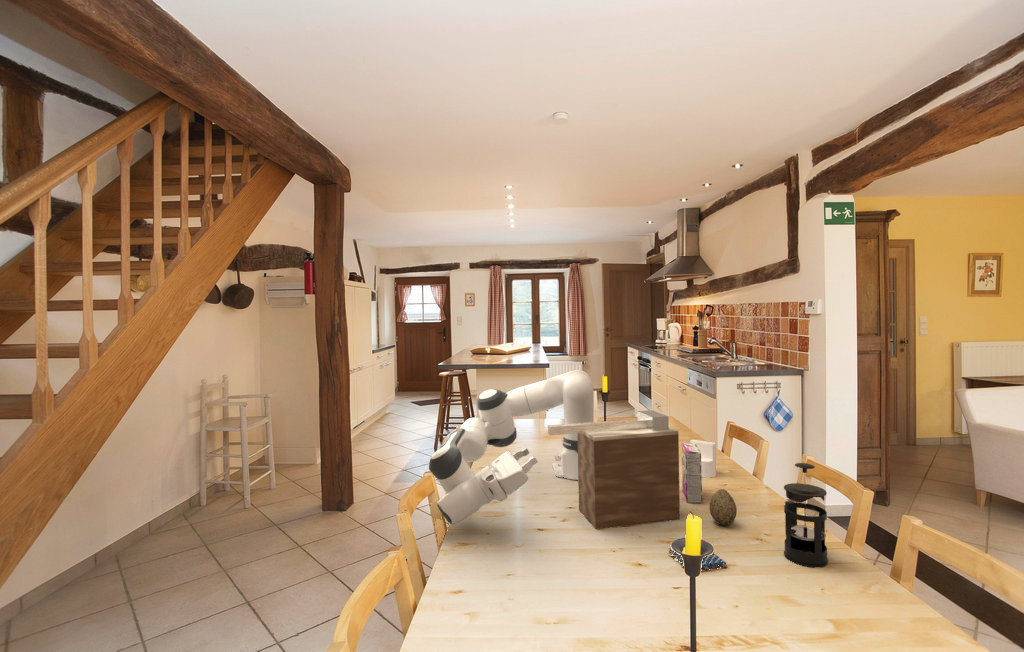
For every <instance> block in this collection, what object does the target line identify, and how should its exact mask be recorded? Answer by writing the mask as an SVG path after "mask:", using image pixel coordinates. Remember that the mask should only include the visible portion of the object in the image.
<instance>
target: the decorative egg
mask: <svg viewBox="0 0 1024 652" xmlns="http://www.w3.org/2000/svg"><path fill="white" fill-rule="evenodd" d="M737 512H738V511H737V505H736V502H735V500H734V498H733V496H732V494H730V493H729V491H727V490H726V489H724V488H722V489H721V488H719V489H718V490H717V491H716V492H715V493H714V494H713V495H712V497H711V499H710V502H709V513H710V515H711V518H712V519H713V520H714V522H716V523H717V524H719V525H723V526H728V525H730V524H732V523H733V522H734V521H735V519H736V517H737Z"/></svg>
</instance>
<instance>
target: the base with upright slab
mask: <svg viewBox="0 0 1024 652" xmlns="http://www.w3.org/2000/svg"><path fill="white" fill-rule="evenodd" d="M689 443H693V444H696V445H697V447H698V449H699V450H700V452H701V475H702V477H703V478H702V479H708V478H707V477H712V478H715V477H717V445H716V442H710V441H705V440H699V439H690V441H689ZM714 476H715V477H714Z"/></svg>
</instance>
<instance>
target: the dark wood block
mask: <svg viewBox="0 0 1024 652" xmlns="http://www.w3.org/2000/svg"><path fill="white" fill-rule="evenodd" d="M679 437H680V436H679V430H678V429H675V428H672V427H670V426H669V430H660V431H652V430H650V429H647V428H643V429H630V430H617V431H603V432H590V433H577V438H578V480H577V481H578V482H577V483H578V511H579V513H581V515H582V514H583V515H584V516H583V515H582V516H583V517H584V518H585V519H586V521H587V522H589V524H590V525H591V524H592V525H591V526H592V527H593V528H594V529H595V530H601V529H602V530H603V529H611V528H610V527H612V528H619V527H618V526H620V527H627V526H629V527H630V526H635V525H636V526H638V525H644V524H652V523H661V522H671V521H677V520H678V521H679V520H680V519H681V511H680V507H681V506H680V504H681V503H680V500H681V499H680V449H679V448H680V445H679V443H680V442H679ZM670 520H671V521H670Z"/></svg>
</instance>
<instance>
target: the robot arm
mask: <svg viewBox="0 0 1024 652" xmlns="http://www.w3.org/2000/svg"><path fill="white" fill-rule="evenodd" d="M594 389H595V388H594V384H593V381H592V378H591V377H590V375H589V374H588V373H587V372H586V371H584V370H582V369H574V370H570V371H567V372H564V373H562V374H558V375H555V376H553V377H549V378H547V379H544V380H540V381H537V382H534V383H529V384H526V385H523V386H519V387H516V388H514V389H511V390H509V391H507V392H504V391H502V390H501V389H497V388H491V389H486V390H484V391H482V392H481V393H480V394H479V395H478V396H477V397H476V401H475V403H476V408H477V410H478V415H479V417H469V418H468V419H466V420H465V421H464V422H463V423H462V425H461V426H460V428H458V429H455V430H453V431H452V432H451V433H449V434H448V436H447V437H446V438H445V440H444V441H443V442H442V443H441V445H440V447H439V448H438V449H437V450H436V451H434V453H433V454H432V455H431V456H430V459H429V462H428V470H429V471H430V473H431V475H433V476H434V477H435V479H436V480H437V481H438V483H439V484H440V486H441V487H442V489H443V490H444V492H445V495H443V496H442V497H441V498H440V499H439V500H438V501H437V503H436V505H437V508H438V510H439V512H440V513H441V515H442V517H444V519H445V521H447V522H448V523H449V524H450V525H456V524H459V523H461V522H463V521H464V520H466V519H467V518H469V517H471V516H472V515H474V514H475V513H477V512H478V511H479V510H480V509H481V508H482V507H483V506H485V505H486V504H490V503H491V502H493V501H499V502H504V501H505V500H506V499H507V498H508V495H511V494H512V493H514V492H515V491H517V490H518V489H519V488H521V487H522V486H524V484H526V483H527V481H528V480H529V476H528V474H527V473H528V472H530V470H531V469H532V468H533V466H535V465H537V463H538V459H537V457H535V456H534V455H533V456H531V457H529V458H528V460H527V461H526V462H525V463H522V464H520V463H519V460H520V459H521V458H524V457H527V456H528V455H529V454H530V451H529V449H528V447H524V448H522V449H520V450H517V451H515V452H513V453H512V452H511V451H509V450H507V451H504V452H503V453H501V454H500V455H499V456H497V457H496V458H494V460H492V461H491V462H490V463H489V465H486V466H484V467H483V468H482V469H480V470H478V471H477V472H475V473H474V472H473V471H472V468H471V467H470V465H469V464H468V463H473V462H478V461H479V460H480V459H482V458H483V456H484V455H485V454H486V452H487V448H488V445H489V446H492V447H495V448H505V447H508V446H510V445H512V444H513V443H514V442H515V440H516V439H517V429H516V427H515V423H514V418H516V417H517V418H519V417H524V416H529V415H533V414H537V413H540V412H544V411H549V410H551V409H552V410H553V409H555V408H556V407H558V406H559V407H560V406H562V405H563V424H575V423H589V422H595V421H594V413H595V411H594V397H595V396H594ZM554 461H555V462H553V463H552V465H553V466H552V469H553V468H554V469H553V472H554V475H556V476H557V477H556V476H555V477H556V478H563V477H564V478H565V479H568V480H577V481H578V438H577V434H563V438H562V447H561V448H560V450H558V452H557V454H555V455H554ZM564 478H563V479H564Z"/></svg>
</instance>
